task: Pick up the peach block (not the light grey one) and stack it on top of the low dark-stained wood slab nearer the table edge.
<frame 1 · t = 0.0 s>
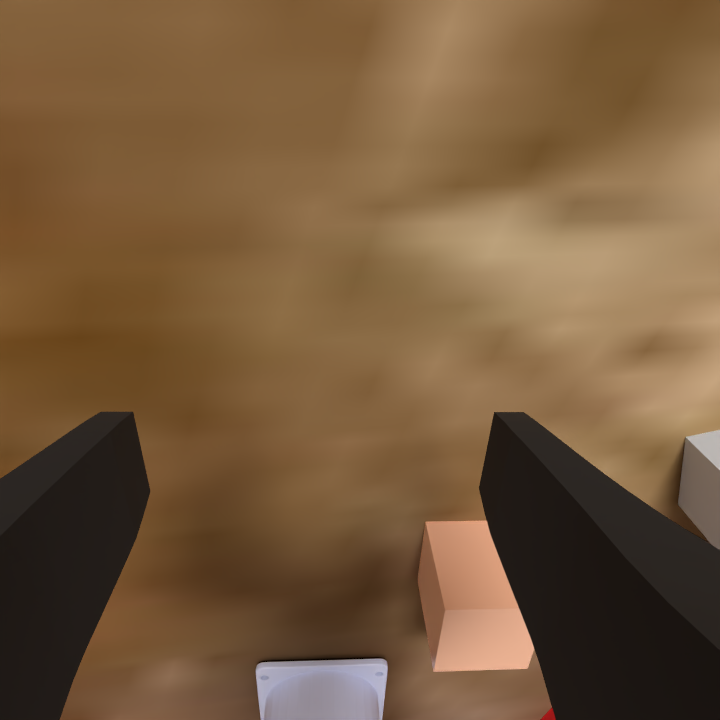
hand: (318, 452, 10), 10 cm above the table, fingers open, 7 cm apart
peach block: (462, 550, 27), on the table
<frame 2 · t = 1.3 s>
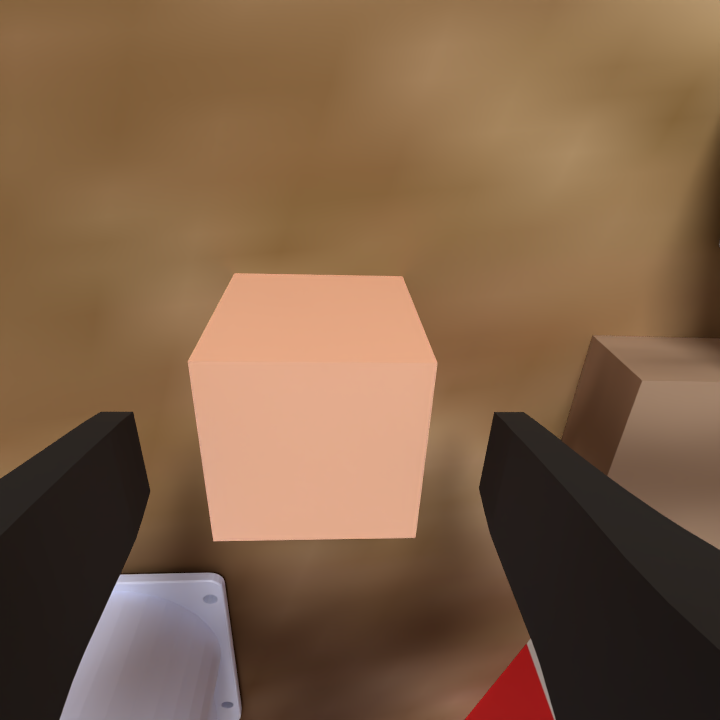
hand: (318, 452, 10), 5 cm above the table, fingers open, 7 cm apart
wood slab: (659, 426, 17), on the table
peach block: (319, 348, 14), on the table
puzzle toy: (598, 675, 24), on the table
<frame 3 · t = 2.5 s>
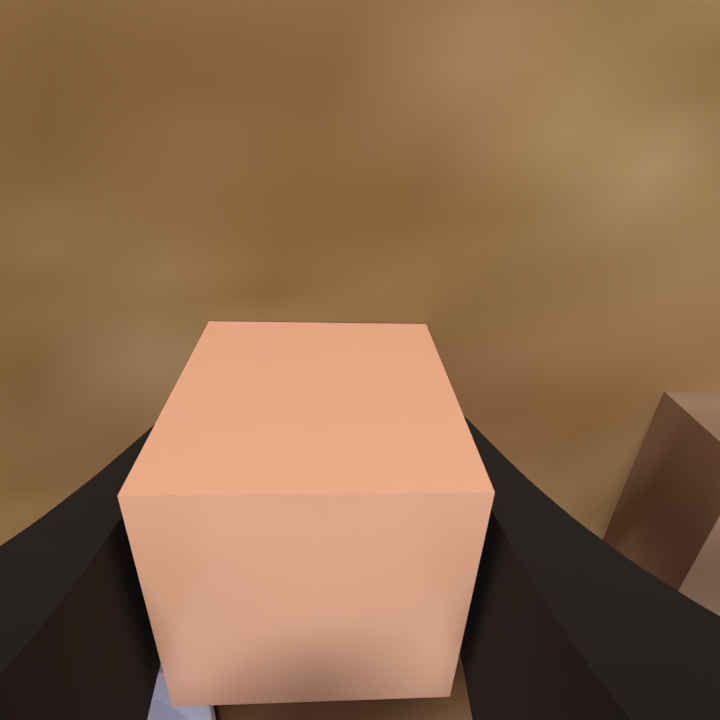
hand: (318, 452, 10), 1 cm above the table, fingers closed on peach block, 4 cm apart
peach block: (319, 412, 11), on the table, touching gripper
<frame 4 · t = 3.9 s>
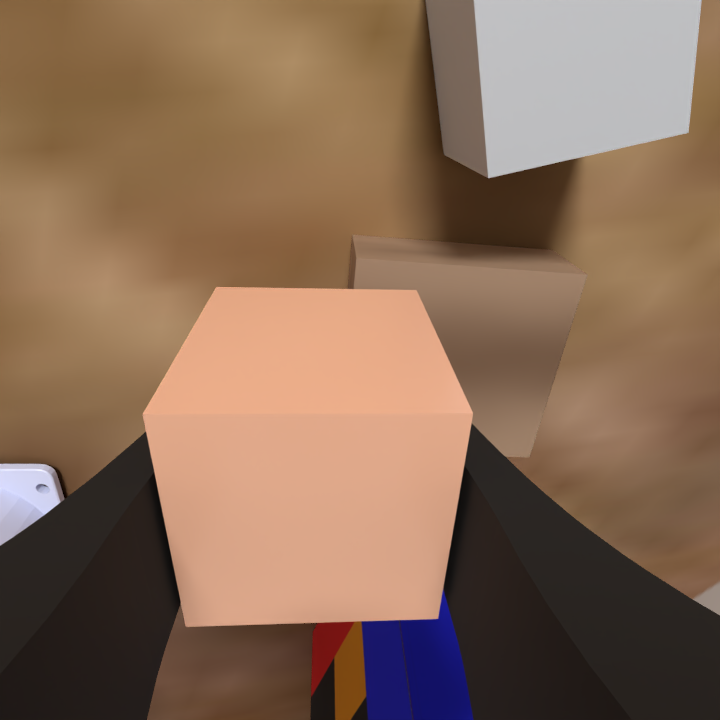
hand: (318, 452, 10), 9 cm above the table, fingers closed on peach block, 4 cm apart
wood slab: (435, 331, 19), on the table
peach block: (318, 375, 12), point 6 cm above the table, touching gripper
light grey block: (509, 55, 15), on the table
puzzle toy: (435, 585, 26), on the table
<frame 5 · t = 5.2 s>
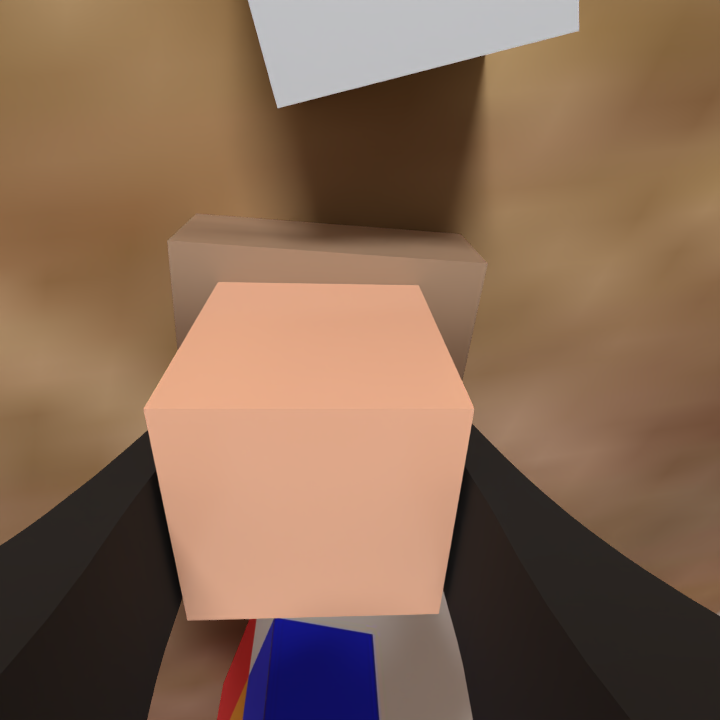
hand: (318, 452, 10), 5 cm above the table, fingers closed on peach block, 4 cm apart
wood slab: (324, 336, 15), on the table, touching peach block
peach block: (319, 370, 12), point 3 cm above the table, touching gripper, wood slab
puzzle toy: (362, 631, 22), on the table
when the fingers open (5 cm above the table, at t = 5.6 s): peach block stays where it is, resting on wood slab.
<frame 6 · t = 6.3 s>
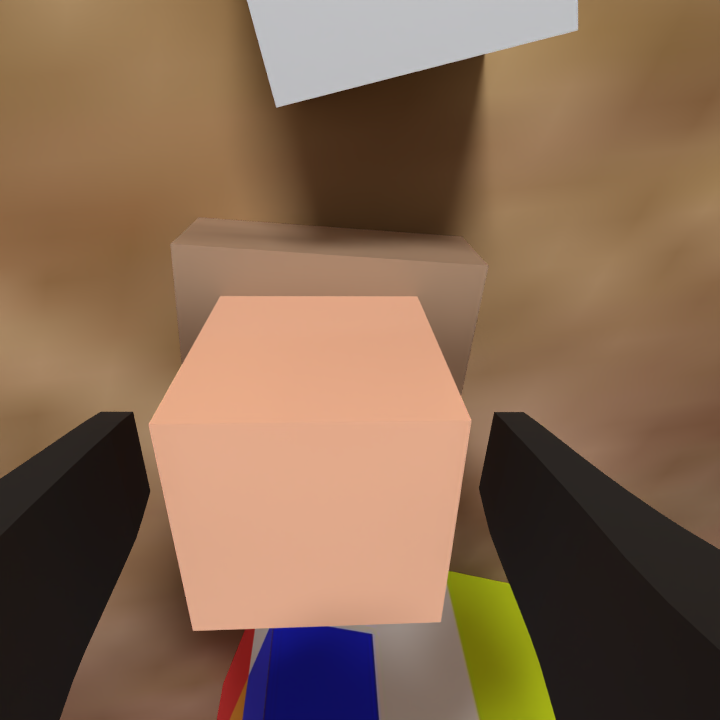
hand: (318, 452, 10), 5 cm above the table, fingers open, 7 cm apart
wood slab: (326, 338, 15), on the table, touching peach block
peach block: (321, 381, 12), point 3 cm above the table, touching wood slab
puzzle toy: (361, 631, 22), on the table
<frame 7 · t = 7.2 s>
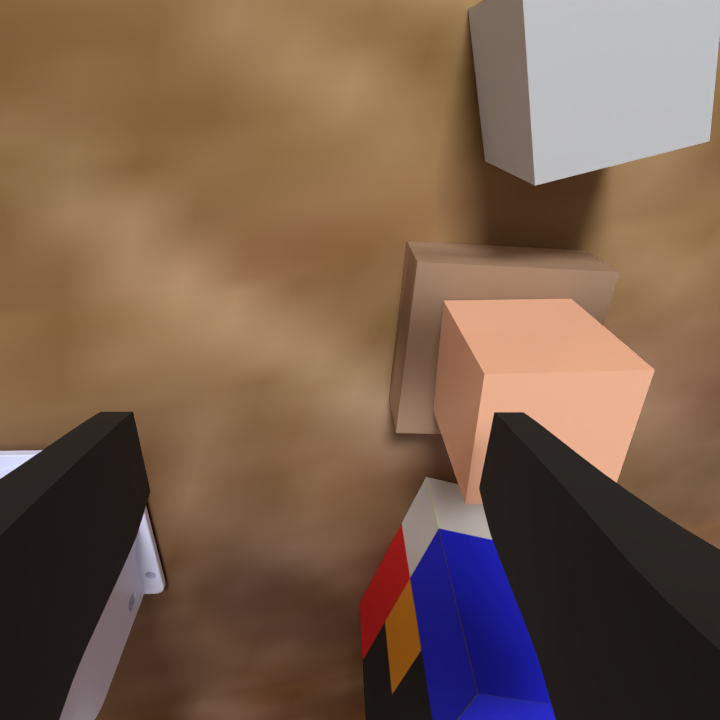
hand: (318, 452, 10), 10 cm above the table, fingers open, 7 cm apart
wood slab: (478, 324, 21), on the table
peach block: (498, 356, 18), point 3 cm above the table
light grey block: (544, 71, 16), on the table
puzzle toy: (473, 558, 28), on the table
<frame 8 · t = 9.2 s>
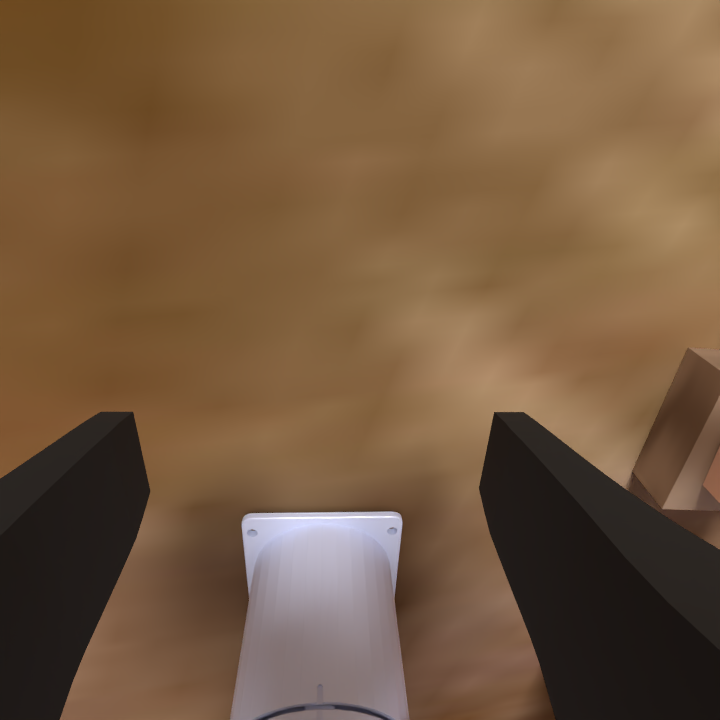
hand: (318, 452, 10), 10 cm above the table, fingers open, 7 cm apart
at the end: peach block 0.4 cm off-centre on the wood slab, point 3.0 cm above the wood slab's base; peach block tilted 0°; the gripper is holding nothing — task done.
